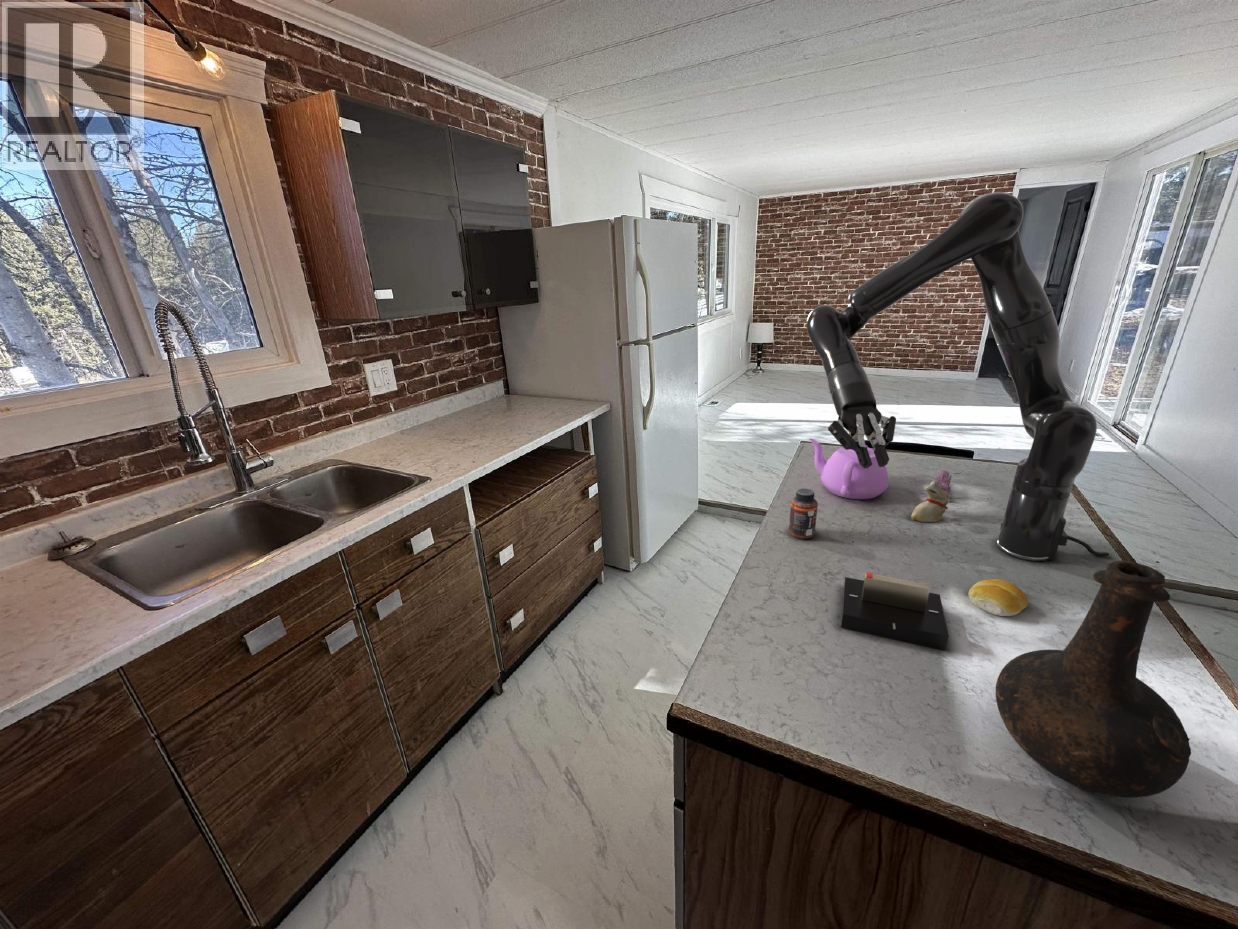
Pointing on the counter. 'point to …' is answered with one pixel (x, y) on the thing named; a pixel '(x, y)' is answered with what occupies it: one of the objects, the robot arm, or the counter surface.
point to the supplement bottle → (803, 514)
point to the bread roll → (998, 597)
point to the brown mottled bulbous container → (1099, 697)
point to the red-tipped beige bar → (895, 592)
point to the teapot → (850, 474)
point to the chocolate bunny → (932, 505)
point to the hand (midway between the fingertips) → (876, 465)
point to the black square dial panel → (894, 618)
